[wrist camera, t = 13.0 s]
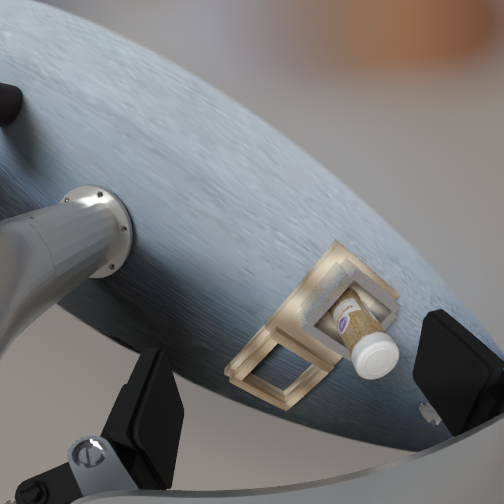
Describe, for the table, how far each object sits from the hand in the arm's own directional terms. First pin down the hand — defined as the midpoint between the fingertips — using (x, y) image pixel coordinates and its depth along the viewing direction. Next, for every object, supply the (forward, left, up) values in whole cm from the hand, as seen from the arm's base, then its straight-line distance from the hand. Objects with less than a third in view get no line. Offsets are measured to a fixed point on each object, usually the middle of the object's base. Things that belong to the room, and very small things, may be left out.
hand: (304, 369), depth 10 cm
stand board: (+5, -16, -28) cm, 33 cm away
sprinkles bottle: (+9, -11, -27) cm, 30 cm away
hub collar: (+9, -11, -27) cm, 30 cm away
